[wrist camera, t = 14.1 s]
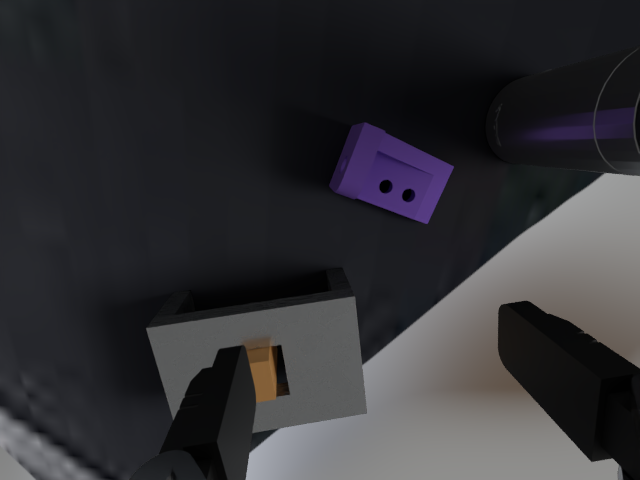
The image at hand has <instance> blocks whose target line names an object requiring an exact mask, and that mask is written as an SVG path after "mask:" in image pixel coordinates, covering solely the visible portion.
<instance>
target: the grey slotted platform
mask: <svg viewBox="0 0 640 480" xmlns="http://www.w3.org/2000/svg"><path fill="white" fill-rule="evenodd" d="M326 275H327V283H328V292H322V293H315V294H308V295H302V296H295V297H289V298H282V299H275V300H269V301H262V302H256V303H249V304H242V305H236V306H229V307H223V308H216V309H209V310H203V311H196V310H195V306H194V302H193V298H192V294H191V290H189V291H182V292H175V293H173V294H172V295H171V296H170V298H169V299H168V300H167V301H166V303H165V304H164V305H163V307H162V308H161V309H160V311H159V312H158V313H157V315H156V316H155V317H154V319H153V320H152V321H151V322H150V324H149V325H148V326H147V328H146V330H147V333H148V336H149V340H150V343H151V346H152V350H153V353H154V356H155V360H156V363H157V366H158V370H159V373H160V377H161V380H162V383H163V387H164V390H165V393H166V397H167V400H168V403H169V407H170V410H171V413H172V417H173V420H174V418H175V416H176V413H177V411H178V410H179V409H180V408H179V407H180V404H181V402H182V400H183V398H185V393H186V390H187V388H188V386H189V383H190V381H191V380H192V379H193V378H194V377H195V376H196V375H197V374H198V373H199V372H200V371H201V369H202V368H208V367H212V365H213V363H214V360H215V357H216V354H217V352H218V350H219V349H221V348H227V347H233V346H240V345H244V346H245V348H246V350H251V349H257V348H264V347H270V346H276V345H281V346H282V351H283V357H284V362H285V368H286V374H287V379H288V382H286V383H280V384H276V399H275V400H269V401H263V402H257V403H256V411H255V418H254V425H253V431H252V433H254V432H260V431H266V430H272V429H278V428H284V427H289V426H295V425H301V424H307V423H313V422H319V421H324V420H330V419H336V418H342V417H347V416H353V415H359V414H366V413H367V409H366V399H365V389H364V380H363V370H362V360H361V351H360V341H359V331H358V322H357V312H356V303H355V296H354V293H353V291H352V289H351V286H350V284H349V282H348V279H347V277H346V275H345V272H344V270H343V268H337V269H330V270H326Z"/></svg>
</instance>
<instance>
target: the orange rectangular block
mask: <svg viewBox="0 0 640 480" xmlns="http://www.w3.org/2000/svg"><path fill="white" fill-rule="evenodd" d="M246 351H247V355H248V359H249V364H250V368H251V372H252V377H253V381H254V385H255V392H256V403H257V402H263V401H269V400H275V399H276V382H277V345H276V346H270V347H264V348H257V349H251V350H246Z"/></svg>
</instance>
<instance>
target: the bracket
mask: <svg viewBox="0 0 640 480" xmlns="http://www.w3.org/2000/svg"><path fill="white" fill-rule="evenodd" d="M453 168H454V166H452V165H450V164H448V163H446V162H444V161H441V160H439V159H437V158H435V157H433V156H431V155H429V154H427V153H425V152H423V151H421V150H419V149H417V148H415V147H413V146H411V145H409V144H407V143H405V142H403V141H401V140H399V139H397V138H395V137H393V136H391V135H389V134H386V133H385V131H384V130H382V129H380V128H377V127H375V126H372V125H370V124H368V123H365V122H364V123H360V124H356V125H353V126H352V127H351V129H350V132H349V135H348V137H347V140H346V143H345V145H344V148H343V150H342V153H341V156H340V158H339V161H338V163H337V166H336V169H335V171H334V174H333V176H332V179H331V182H330V184H329V187H330V188H331V189H332V190H333V191H334V192H335V193H338V194H341V195H343V196H346V197H349V198H351V199H356V198H358V199H360V200H363V201H366V202H368V203H371V204H374V205H376V206H379V207H382V208H384V209H387V210H390V211H392V212H395V213H398V214H400V215H403V216H406V217H408V218H411V219H414V220H417V221H420V222H423V223H426V224H428V221H429V219H430V217H431V215H432V213H433V211H434V209H435V206H436V204H437V202H438V200H439V198H440V196H441V193H442V191H443V189H444V187H445V185H446V183H447V180H448V178H449V176H450V174H451V172H452V170H453ZM383 180H389V181H390V187H389V189H388V190H387V191H386V192H385V193H382V192H381V191H380V189H379V185H380V183H381V182H382V181H383ZM406 189H411V196H410V198H409V199H408V200H406V201H404V200H403V199H402V193H403V192H404V190H406Z"/></svg>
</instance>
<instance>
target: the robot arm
mask: <svg viewBox="0 0 640 480" xmlns="http://www.w3.org/2000/svg"><path fill="white" fill-rule="evenodd" d="M485 128H486V137H487V140H488V144H489V146H490V147H491V149H492V151H493V152H494V153H495V154H496V155H497V156H498V157H499V158H501V159H502V160H504V161H506V162H509V163H512V164H522V165H532V166H540V167H550V168H561V169H571V170H581V171H592V172H602V173H612V174H623V175H633V176H634V175H636V176H640V46H636V47H632V48H629V49H625V50H621V51H618V52H614V53H611V54H607V55H603V56H600V57H596V58H592V59H589V60H585V61H581V62H578V63H574V64H570V65H567V66H563V67H559V68H556V69H552V70H548V71H544V72H541V73H537V74H533V75H530V76H526V77H523V78H520V79H517V80H514V81H513V82H511V83H510V84H508V85H506V86H505V87H504V88H503V89H502V90H501V91H500V92H499V93H498V94H497V96H496V97H495V98H494V100H493V102H492V104H491V106H490V108H489V111H488V114H487V117H486V126H485ZM498 314H499V316H498V351H499V356H500V359H501V361H502V363H503V365H504V366H505V368H506V369H507V370H508V371H509V372H510V373H511V374H512V376H513V377H514V378H515V379H516V380H517V381H518V382H519V383H520V384H521V385H522V387H523V388H524V389H525V390H526V391H527V392H528V393H529V394H530V395H531V396H532V397H533V399H534V400H535V401H536V402H537V403H538V404H539V405H540V406H541V407H542V408H543V409H544V411H545V412H546V413H547V414H548V415H549V416H550V417H551V418H552V419H553V420H554V421H555V423H556V424H557V425H558V426H559V427H560V428H561V429H562V430H563V431H564V432H565V433H566V434H567V436H568V437H569V438H570V439H571V440H572V441H573V442H574V443H575V444H576V445H577V447H578V448H579V449H580V450H581V451H582V452H583V453H584V454H585V455H586V456H587V457H588V458H589V460H590V461H591V462H594V461H599V460H605V459H611V458H613V459H614V460H615V461H616V462H617V463H618V464H619V468H618V480H640V368H638V367H637V366H635V365H634V364H632V363H631V362H629V361H628V360H626V359H625V358H623V357H622V356H620V355H619V354H617V353H615V352H614V351H613V350H611V349H610V348H608V347H607V346H605V345H604V344H602V343H601V342H597V340H596V339H595V338H593V337H592V336H590V335H589V334H585V333H584V331H583V330H581V329H580V328H578V327H577V326H575V325H574V324H572V323H571V322H569V321H567V320H564V319H561V318H559V317H556V316H554V315H551V314H547V313H545V312H544V311H542V310H541V309H539V308H538V307H537V306H535V305H534V304H532V303H531V302H529V301H521V302H515V303H508V304H503V305H501V306H500V308H499V313H498ZM179 408H180V409H179V410H178V411H177V413H176V416H175V418H174V420H173V423H172V425H171V427H170V430H169V432H168V434H167V437H166V439H165V441H164V444H163V446H162V448H161V450H160V453H159V455H157V456H155V457H153V458H151V459H150V460H148V461H147V462H145V463H144V464H143V465H142V466H141V467H139V468H138V469H137V471H136V472H135V473H134V474H133V475H132V476H131V478H130V479H129V480H245V479H246V472H247V465H248V459H249V452H250V445H251V438H252V431H253V425H254V418H255V411H256V392H255V385H254V381H253V377H252V372H251V368H250V364H249V359H248V355H247V351H246V348H245V346H244V345H240V346H233V347H227V348H221V349H219V350H218V352H217V354H216V357H215V360H214V363H213V365H212V367H208V368H202V369H201V371H200V372H199V373H198V374H197V375H196V376H195V377H194V378H193V379H192V380H191V381H190V383H189V386H188V388H187V390H186V393H185V398H183V400H182V402H181V404H180V407H179Z"/></svg>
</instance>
